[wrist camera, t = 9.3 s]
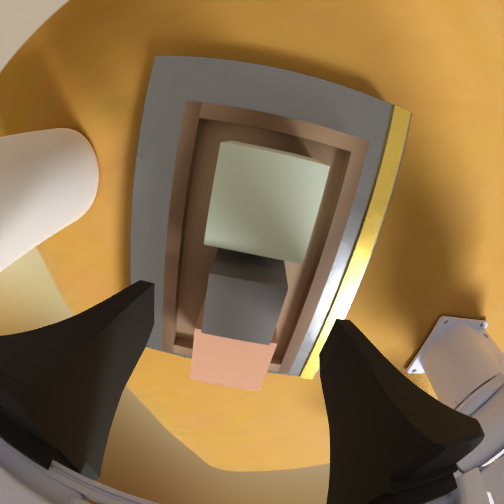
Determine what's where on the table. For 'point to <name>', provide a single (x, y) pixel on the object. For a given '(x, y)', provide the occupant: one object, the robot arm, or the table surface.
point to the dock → (280, 103)
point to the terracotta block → (229, 359)
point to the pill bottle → (42, 187)
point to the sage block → (264, 201)
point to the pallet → (197, 208)
